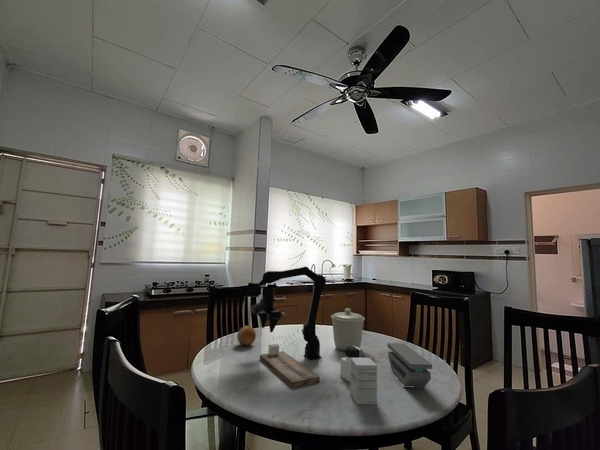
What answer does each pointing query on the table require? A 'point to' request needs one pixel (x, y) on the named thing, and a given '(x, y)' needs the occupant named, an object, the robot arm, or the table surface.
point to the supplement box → (363, 381)
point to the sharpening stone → (408, 365)
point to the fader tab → (273, 349)
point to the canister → (347, 329)
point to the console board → (290, 369)
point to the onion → (246, 335)
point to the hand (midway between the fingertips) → (267, 330)
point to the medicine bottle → (348, 361)
